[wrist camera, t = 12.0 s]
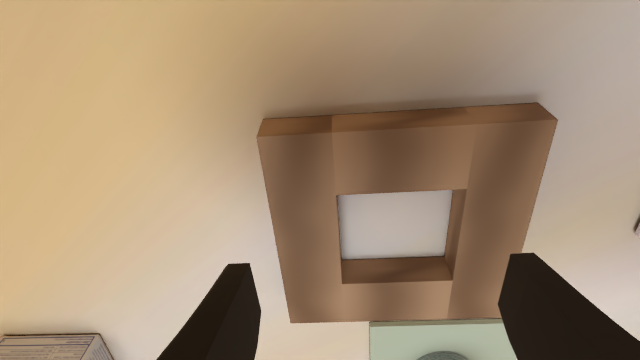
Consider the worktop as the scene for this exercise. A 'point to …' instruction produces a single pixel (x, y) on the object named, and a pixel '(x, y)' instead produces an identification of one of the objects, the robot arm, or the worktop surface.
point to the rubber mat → (440, 339)
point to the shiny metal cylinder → (442, 356)
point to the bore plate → (403, 176)
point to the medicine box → (54, 347)
